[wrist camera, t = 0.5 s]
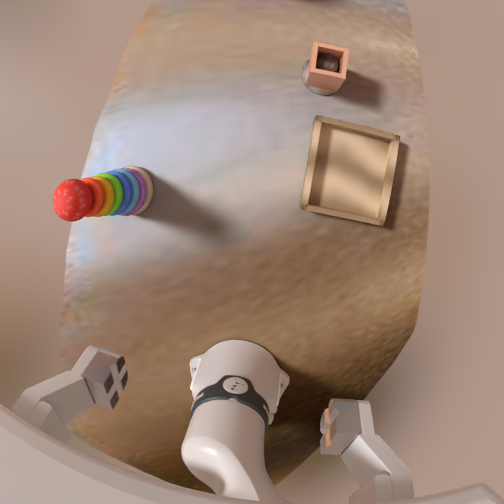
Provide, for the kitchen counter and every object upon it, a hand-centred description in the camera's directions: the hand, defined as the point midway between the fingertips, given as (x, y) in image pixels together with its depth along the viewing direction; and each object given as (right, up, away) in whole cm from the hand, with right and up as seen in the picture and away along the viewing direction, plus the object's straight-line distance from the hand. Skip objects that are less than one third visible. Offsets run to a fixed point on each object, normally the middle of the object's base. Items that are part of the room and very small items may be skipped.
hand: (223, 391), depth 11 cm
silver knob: (+12, +32, +29) cm, 44 cm away
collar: (+12, +31, +28) cm, 44 cm away
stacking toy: (-18, +15, +37) cm, 44 cm away
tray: (+15, +17, +33) cm, 40 cm away
